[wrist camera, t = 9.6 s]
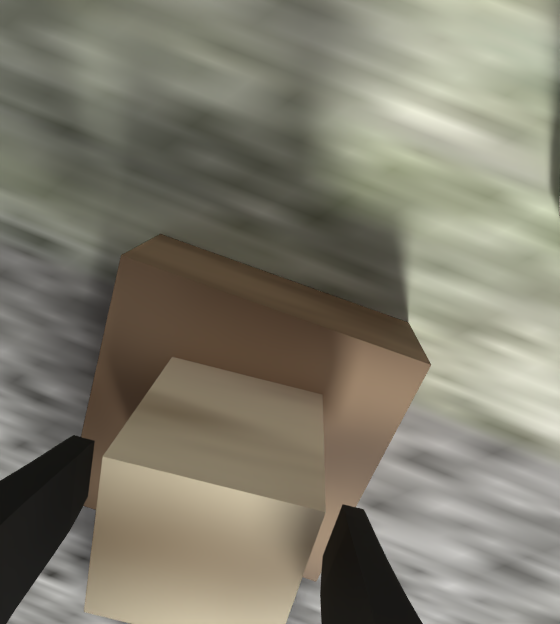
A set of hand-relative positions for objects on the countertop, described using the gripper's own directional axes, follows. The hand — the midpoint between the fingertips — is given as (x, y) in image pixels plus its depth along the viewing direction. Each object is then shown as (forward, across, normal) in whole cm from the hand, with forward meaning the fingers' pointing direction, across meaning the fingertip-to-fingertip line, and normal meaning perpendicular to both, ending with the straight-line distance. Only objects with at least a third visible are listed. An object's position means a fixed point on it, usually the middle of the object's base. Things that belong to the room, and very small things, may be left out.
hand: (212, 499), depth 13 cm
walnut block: (+7, 0, 0) cm, 7 cm away
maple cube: (+3, 0, 0) cm, 3 cm away
